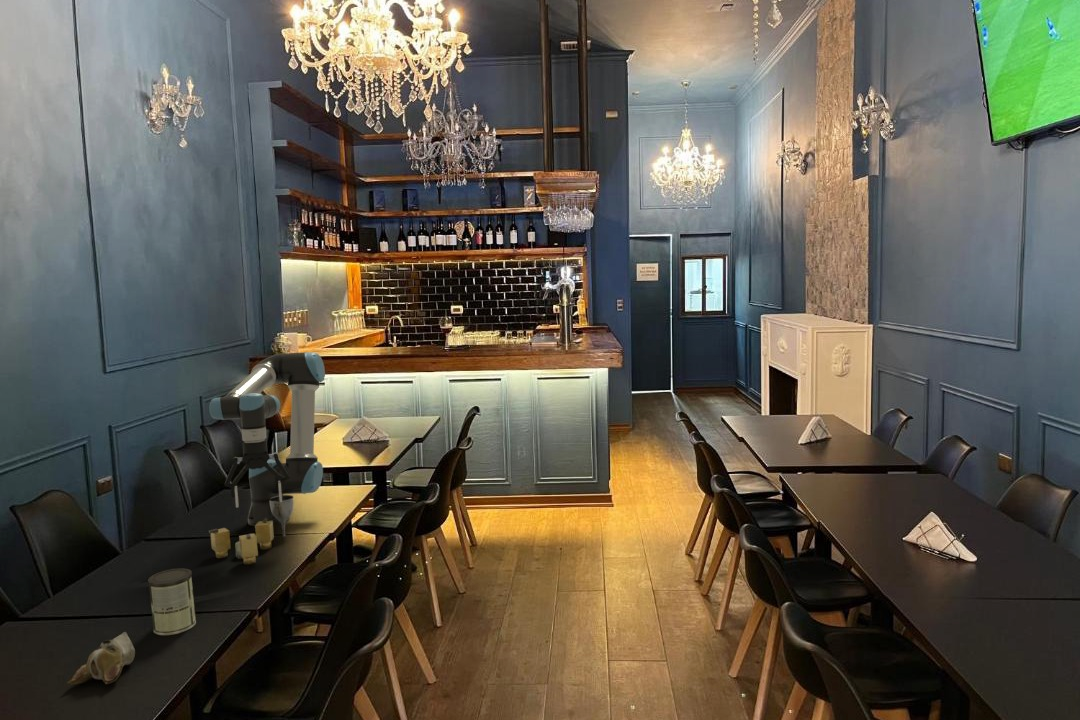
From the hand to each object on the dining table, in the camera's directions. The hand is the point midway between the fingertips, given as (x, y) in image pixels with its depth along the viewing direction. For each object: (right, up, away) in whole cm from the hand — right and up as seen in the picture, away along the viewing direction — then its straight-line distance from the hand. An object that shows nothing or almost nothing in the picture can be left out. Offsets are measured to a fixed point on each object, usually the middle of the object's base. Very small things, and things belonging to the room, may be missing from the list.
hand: (259, 503), depth 256 cm
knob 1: (-11, -17, -2) cm, 20 cm away
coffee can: (-3, -23, -52) cm, 57 cm away
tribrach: (-3, -18, -3) cm, 18 cm away
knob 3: (+1, -16, +4) cm, 16 cm away
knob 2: (0, -17, -10) cm, 19 cm away
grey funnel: (+3, -16, +16) cm, 23 cm away
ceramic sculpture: (-7, -26, -77) cm, 82 cm away
